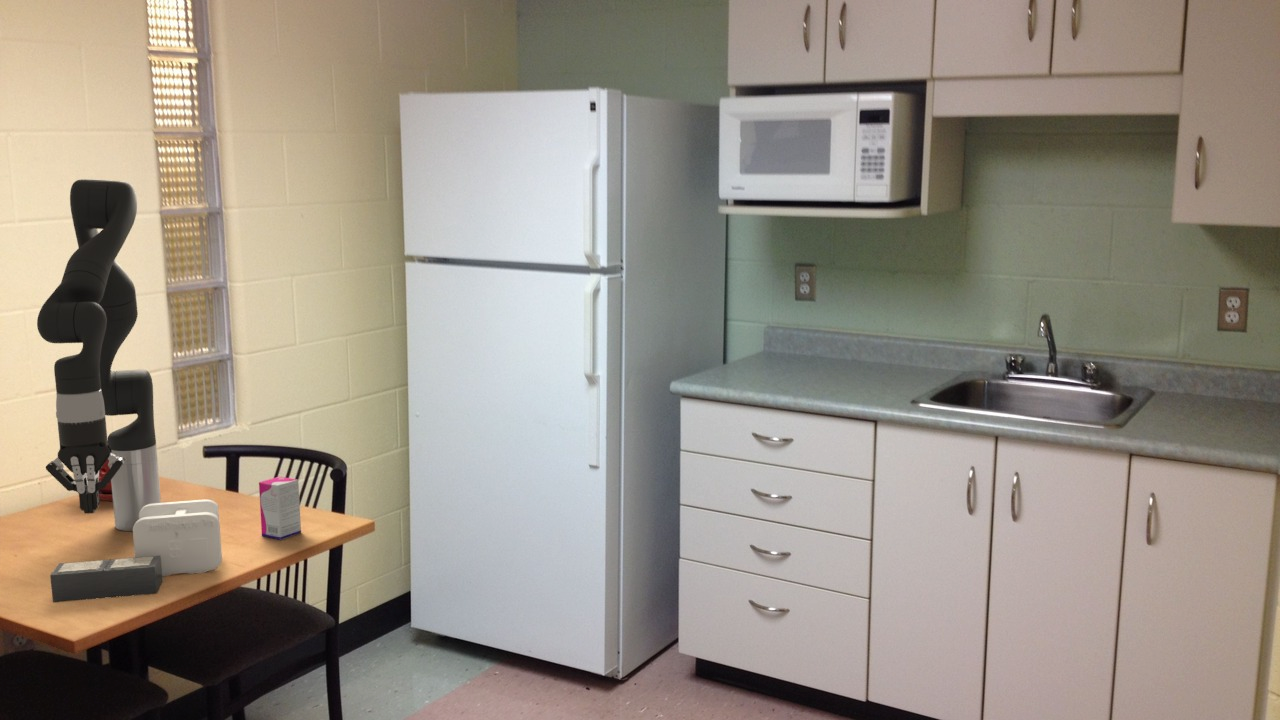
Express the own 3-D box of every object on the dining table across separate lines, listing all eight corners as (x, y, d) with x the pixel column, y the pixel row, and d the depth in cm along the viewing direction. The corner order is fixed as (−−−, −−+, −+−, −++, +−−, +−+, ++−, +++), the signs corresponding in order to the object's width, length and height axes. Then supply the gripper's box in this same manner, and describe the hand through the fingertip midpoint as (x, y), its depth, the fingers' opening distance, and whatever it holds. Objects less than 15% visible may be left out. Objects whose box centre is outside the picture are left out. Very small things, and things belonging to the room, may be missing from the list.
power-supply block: (61, 590, 205) (59, 562, 204) (162, 581, 209) (160, 554, 208) (53, 602, 199) (50, 574, 198) (156, 593, 203) (154, 565, 202)
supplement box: (302, 532, 236) (299, 479, 234) (280, 540, 231) (276, 486, 229) (282, 528, 239) (279, 475, 237) (260, 536, 234) (257, 482, 232)
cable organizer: (226, 554, 223) (222, 497, 221) (221, 573, 213) (217, 513, 211) (144, 562, 219) (139, 504, 217) (135, 581, 209) (130, 520, 207)
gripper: (126, 409, 203) (134, 503, 206) (46, 413, 200) (55, 508, 203) (117, 418, 196) (125, 515, 199) (33, 423, 193) (43, 521, 196)
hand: (90, 512), depth 201 cm, fingers closed
